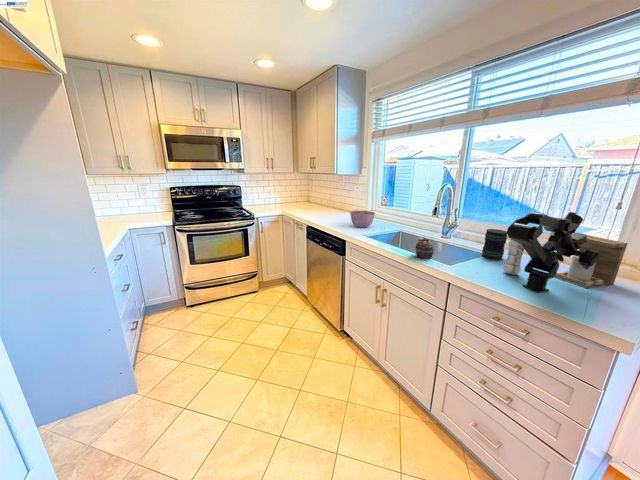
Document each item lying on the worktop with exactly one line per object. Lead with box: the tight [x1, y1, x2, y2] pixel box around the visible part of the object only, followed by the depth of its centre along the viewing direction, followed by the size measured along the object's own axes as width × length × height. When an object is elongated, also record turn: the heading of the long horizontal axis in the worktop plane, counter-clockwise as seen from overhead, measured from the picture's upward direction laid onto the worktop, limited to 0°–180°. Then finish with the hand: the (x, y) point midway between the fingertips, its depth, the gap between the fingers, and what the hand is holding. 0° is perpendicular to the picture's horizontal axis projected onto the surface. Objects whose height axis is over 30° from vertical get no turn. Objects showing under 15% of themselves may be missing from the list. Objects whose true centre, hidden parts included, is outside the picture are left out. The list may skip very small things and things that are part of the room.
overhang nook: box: [554, 234, 628, 289], centre depth 116 cm, size 17×14×18 cm
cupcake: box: [415, 237, 435, 260], centre depth 144 cm, size 10×10×10 cm
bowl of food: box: [349, 210, 376, 229], centre depth 214 cm, size 20×20×12 cm
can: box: [567, 255, 596, 282], centre depth 116 cm, size 8×8×12 cm
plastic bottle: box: [502, 239, 525, 276], centre depth 121 cm, size 6×7×20 cm
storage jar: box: [481, 228, 508, 261], centre depth 145 cm, size 10×10×15 cm
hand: (574, 264), depth 114 cm, fingers open, 9 cm apart
